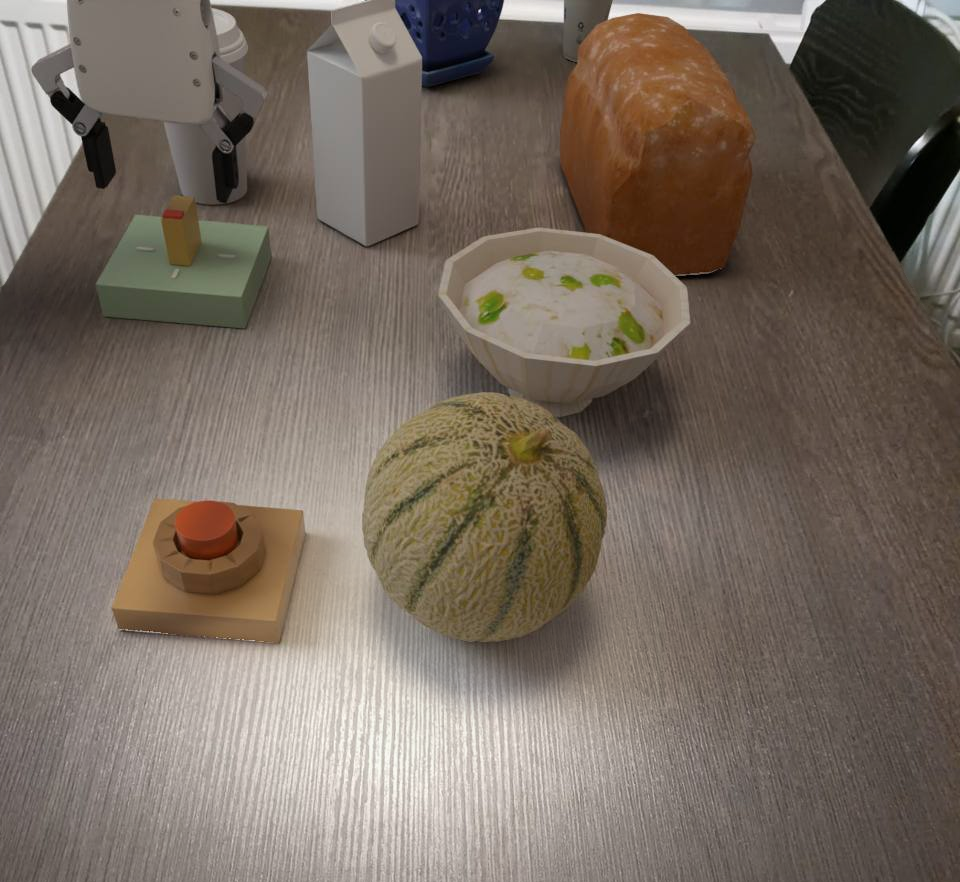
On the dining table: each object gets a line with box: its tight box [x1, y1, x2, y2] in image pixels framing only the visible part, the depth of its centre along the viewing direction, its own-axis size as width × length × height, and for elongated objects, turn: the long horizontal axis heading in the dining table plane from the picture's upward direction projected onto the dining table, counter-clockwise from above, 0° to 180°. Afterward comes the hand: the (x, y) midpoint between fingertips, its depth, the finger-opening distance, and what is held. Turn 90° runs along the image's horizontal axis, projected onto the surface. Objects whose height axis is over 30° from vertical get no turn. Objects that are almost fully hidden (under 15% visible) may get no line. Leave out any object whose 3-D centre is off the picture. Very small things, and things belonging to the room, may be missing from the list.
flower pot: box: [364, 0, 505, 88], centre depth 116 cm, size 13×13×12 cm
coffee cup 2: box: [562, 0, 614, 61], centre depth 123 cm, size 7×7×10 cm
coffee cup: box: [163, 7, 249, 206], centre depth 92 cm, size 10×10×15 cm
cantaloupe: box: [361, 391, 608, 643], centre depth 58 cm, size 15×15×15 cm
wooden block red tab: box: [161, 194, 202, 266], centre depth 82 cm, size 4×2×4 cm, turn 177°
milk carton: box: [306, 0, 423, 247], centre depth 88 cm, size 7×7×19 cm
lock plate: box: [95, 214, 272, 330], centre depth 85 cm, size 12×12×3 cm
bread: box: [558, 12, 757, 275], centre depth 94 cm, size 14×26×16 cm, turn 7°
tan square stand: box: [111, 497, 306, 644], centre depth 62 cm, size 10×10×4 cm
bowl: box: [437, 226, 691, 418], centre depth 76 cm, size 19×19×10 cm
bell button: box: [175, 500, 238, 560], centre depth 60 cm, size 4×4×2 cm
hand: (166, 188), depth 79 cm, fingers open, 9 cm apart
